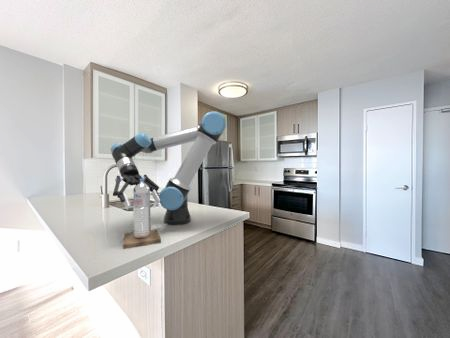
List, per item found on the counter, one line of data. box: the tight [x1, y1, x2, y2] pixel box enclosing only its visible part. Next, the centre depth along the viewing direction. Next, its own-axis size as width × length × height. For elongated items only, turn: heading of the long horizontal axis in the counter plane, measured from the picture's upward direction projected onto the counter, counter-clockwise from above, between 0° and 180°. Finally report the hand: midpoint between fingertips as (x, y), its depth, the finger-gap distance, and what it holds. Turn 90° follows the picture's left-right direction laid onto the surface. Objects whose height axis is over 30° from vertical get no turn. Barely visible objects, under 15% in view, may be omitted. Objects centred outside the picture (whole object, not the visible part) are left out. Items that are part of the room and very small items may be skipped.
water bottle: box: [132, 179, 152, 239], centre depth 84 cm, size 7×7×25 cm
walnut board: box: [122, 228, 162, 250], centre depth 84 cm, size 14×14×2 cm
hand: (144, 204), depth 82 cm, fingers open, 13 cm apart
